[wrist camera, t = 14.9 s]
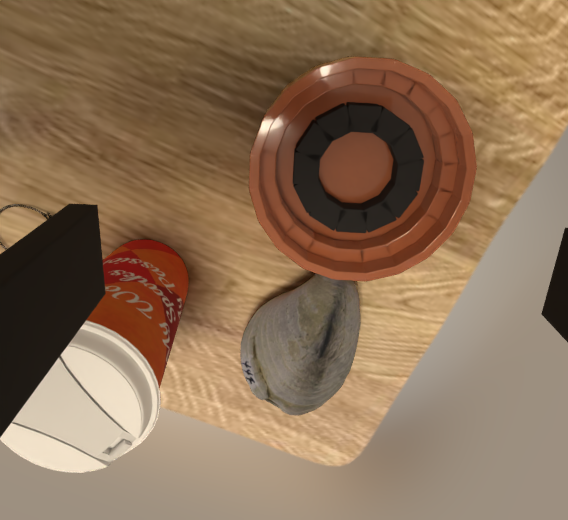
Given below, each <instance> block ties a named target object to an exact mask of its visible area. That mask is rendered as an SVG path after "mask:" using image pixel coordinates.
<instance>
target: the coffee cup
mask: <svg viewBox="0 0 568 520" xmlns="http://www.w3.org/2000/svg"><path fill="white" fill-rule="evenodd" d="M103 271H104V281H105V291H106V294H105V295H104V297H103V298H102V299H101V301H100V302H99V303H98V305H97V306H96V308H95V309H94V310H93V312H92V313H91V314H90V316H89V317H88V319H87V320H86V321H85V323H84V324H83V325H82V327H81V328H80V329H79V331H78V332H77V334H76V335H75V336H74V338H73V339H72V340H71V342H70V343H69V344H68V346H67V347H66V349H65V350H64V351H63V353H62V354H61V355H60V357H59V358H58V359H57V361H56V362H55V364H54V365H53V366H52V368H51V369H50V370H49V372H48V373H47V375H46V376H45V377H44V379H43V380H42V381H41V383H40V384H39V385H38V387H37V388H36V390H35V391H34V392H33V394H32V395H31V396H30V398H29V399H28V400H27V402H26V403H25V405H24V406H23V407H22V409H21V410H20V411H19V413H18V414H17V416H16V417H15V418H14V420H13V421H12V422H11V424H10V425H9V426H8V428H7V429H6V431H5V432H4V433H3V435H2V436H1V437H0V439H1V441H2V442H3V443H5V444H6V445H7V446H8V447H9V448H10V449H11V450H13V451H14V452H15V453H17V454H18V455H19V456H21V457H23V458H24V459H26V460H28V461H30V462H32V463H34V464H37V465H39V466H42V467H45V468H49V469H52V470H56V471H62V472H76V473H77V472H89V471H94V470H99V469H101V468H104V467H107V466H109V465H110V464H111V463H112V462H113V460H114V459H115V460H116V459H118V458H119V457H120V456H121V455H123V454H125V453H126V452H128V451H130V450H132V449H134V448H135V447H136V446H137V445H139V444H140V443H141V442H142V441H143V440H144V439H145V438H146V437H147V436H148V435H149V433H150V432H151V430H152V429H153V427H154V425H155V423H156V421H157V418H158V415H159V410H160V404H161V402H160V389H159V388H160V385H161V381H162V378H163V375H164V371H165V368H166V365H167V361H168V358H169V355H170V351H171V348H172V344H173V341H174V338H175V334H176V331H177V328H178V324H179V321H180V317H181V314H182V310H183V307H184V303H185V299H186V295H187V291H188V284H189V279H188V272H187V269H186V266H185V264H184V262H183V260H182V259H181V258H180V256H179V255H178V254H177V253H176V252H175V251H174V250H173V249H171V248H170V247H168V246H167V245H165V244H163V243H160V242H157V241H154V240H147V239H141V240H134V241H131V242H128V243H126V244H124V245H122V246H120V247H119V248H117V249H116V250H115V251H113V252H112V253H111V254H110V255H108V256H107V257H106V258H105V259H104V260H103Z"/></svg>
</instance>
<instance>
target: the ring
mask: <svg viewBox="0 0 568 520" xmlns="http://www.w3.org/2000/svg"><path fill="white" fill-rule="evenodd" d="M315 119H316V120H314V119H313V120H312V121H311V123H310V124H309V126H308V127H307V129H306V130H305V132H304V133H303V135H302V136H301V138H300V139H299V141H298V142H297V144H296V148H295V149H294V165H293V187H294V189H295V191H296V193H297V195H298V197H299V199H300V201H301V203H302V205H303V207H304V209H305V211H306V213H309V216H311V217H312V218H314V219H316V220H317V221H319V222H320V223H322V224H323V225H325V226H326V227H328V228H330V229H331V230H333V231H334V230H335V229H336V231H337V232H350V233H366V232H367V231H368V232H369V233H370V232H372V231H374V230H376V229H378V228H381V227H383V226H385V225H387V224H389V223H392V222H394V221H396V220H397V219H396V217H397V218H400V217H401V215H402V214H403V213H404V212H405V210H406V209H407V208H408V206H409V205H410V204H411V203H412V201H413V200H414V199H415V197H416V196H417V195H418V193H417V191H419V190H420V185H421V178H422V172H423V166H424V160H423V159H422V158H424V156H423V153H422V151H421V148H420V146H419V143H418V141H417V138H416V136H415V133H414V131H413V129H412V128H411V127H410V125H409V124H407V123H406V122H405V121H403V120H402V119H400V118H399V117H398V116H396V115H395V114H393V113H392V112H391V111H389V110H388V109H386V108H385V107H383V106H382V105H378V104H372V103H356V102H347V103H346V105H345V104H344V103H342V104H340V105H338V106H336V107H334V108H332V109H330V110H328V111H326V112H324V113H322V114H320V115H318V116H316V117H315ZM350 132H361V133H373V134H375V135H376V136H377V137H379V138H380V139H382V140H383V141H385V142H386V143H387V145H388V148H389V150H390V152H391V155H392V157H393V166H392V174H391V179H390V181H389V182H388V183H387V185H386V186H385V187H384V189H383V190H382V191H381V193H380V194H379V195H378V196H376V197H374V198H371V199H369V200H367V201H365V202H363V203H345V202H341V201H339V200H338V199H336V198H335V197H333V196H331V195H330V194H328V193H327V192H326V191H325V189H324V187H323V185H322V183H321V181H320V179H319V168H320V159H321V157H322V156H323V154H324V153H325V151H326V150H327V149H328V147H329V146H330V144H331V143H332V141H334V140H336V139H338V138H340V137H342V136H344V135H346V134H348V133H350Z"/></svg>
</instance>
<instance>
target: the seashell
mask: <svg viewBox="0 0 568 520" xmlns="http://www.w3.org/2000/svg"><path fill="white" fill-rule="evenodd" d="M359 329H360V308H359V295H358V292H357V289H356V286H355V284H354V281H351V280H334V279H330V278H328V277H325V276H322V275H320V274H317V273H316V274H315V275H314V276H313V277H312V278H311V279H309V280H308V281H307V282H306V283H304V284H302V285H301V286H299V287H297V288H296V289H294V290H292V291H289V292H285V293H283V294H281V295H279V296H277V297H275V298H273V299H271V300H270V301H268V302H267V303H265V304H264V305H263V306H262V307H260V308H259V309H258V310H257V312H256V313H255V314H254V316H253V317H252V319H251V320H250V321H249V323H248V325H247V327H246V329H245V332H244V334H243V338H242V341H241V365H242V370H243V373H244V376H245V378H246V381H247V382H248V384H249V386H250V389H251V391H252V393H253V394H254V395H255V396H256V397H258V398H259V399H261V400H266V401H267V402H270V403H271V404H273V405H274V406H277V407H278V408H280V409H281V410H282V411H283V412H285V413H287V414H289V415H302V414H305V413H308V412H311V411H314V410H315V409H317V408H319V407H320V406H322V405H323V404H324V403H325V402H326V401H328V400H329V399H330V398H331V397H332V396H333V395H334V394H335V393H336V392H337V391H338V390H339V389H340V388H341V386H342V385H343V383H344V381H345V378H346V377H347V375H348V373H349V372H350V369H351V366H352V363H353V360H354V356H355V352H356V347H357V342H358V336H359Z"/></svg>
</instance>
